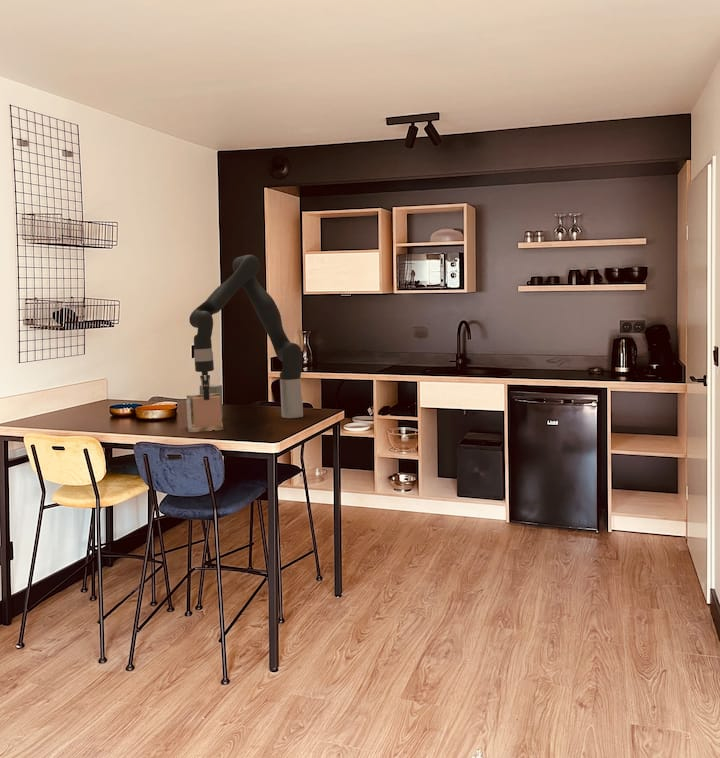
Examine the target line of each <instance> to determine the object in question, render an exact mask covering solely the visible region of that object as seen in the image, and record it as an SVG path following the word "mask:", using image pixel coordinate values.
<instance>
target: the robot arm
mask: <svg viewBox="0 0 720 758" xmlns="http://www.w3.org/2000/svg"><path fill="white" fill-rule="evenodd" d="M260 268H261V263H260V260H259V258H258V257H257V256H255V255H254V254H244V255H242V256H238V257H235V259H234V260H233V262H232V270H233V274H232V275H230V276H229V278H227V279H226V280H225V281H224V282H223V283H221V284H220V285H219V286H218V287H216V289H214V291H212V293H211V294H210V295H209V296H208V298H207V299H206V300H205V301H204V302H202V303H201V304H200V305H198V306H197V307H196V308H195V309H194V310H193V311H192V312H191V314H190V315H189V324H190V326H192V327H193V328H196V329H197V334H195V335H194V336H193V347H194V348H193V349H194V350H193V351H194V352H193V353H194V354H193V355H194V356H193V357H194V358H193V359H194V370H195V372H198V373H201V375H199V378H200V382H201V384H200V385H201V386H202V387H203V392H204V400H209V386H210V385H211V381H210V380H211V375H210V374H209V372H213V371H214V370H215V365H214V353H213V349H212V347H213V346H212V345H213V344H212V335H213V328H214V318H213V315H215V314H217V313H219V312H220V311H221V310H222V309H223V308H224V306H225V305H227V303H228V302H229V301H230V299H232V297H233V296H234V295H235V294H236V293H237V292H238V290H239V289H240V288H243V289H244V291H245V293H246V294H247V297H248V299H249V300H250V303H251V305H252V307H253V308H254V311H255V314H256V315H257V316H258V319H259V321H260V322H261V324H262V327H263V328H264V330H265V332H266V333H267V336H268V337H269V339H270V342H271V344H272V347H273V351H274V353H275V356H276V357H277V359H278V360H279V361H280V362H282V368H281V369H282V370H281V371H280V372H279V387H280V388H279V389H280V405H281V406H280V407H281V408H280V409H281V410H280V411H281V412H280V413H281V418H284V419H296V418H297V419H298V418H303V417H304V407H303V406H304V405H303V402H304V401H303V395H302V379H301V378H302V377H301V376H302V373H303V355H302V354H303V352H302V349H301V347H300V345H299V344H297V343H294V342H291V341H290V340H289V338H288V336H287V335H286V334H287V333H286V332H285V331H284V327H283V321H282V316H281V312H280V309H279V307H278V306H277V304H276V302H275V300H274V299H273V297H272V296H271V295H270V294H269V292H267V291H266V290H265V289H264V288H263V287H262V285H261V284H260V283H259V280H258V279H257V277H256V274H257V275H258V273H259V272H260Z"/></svg>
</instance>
